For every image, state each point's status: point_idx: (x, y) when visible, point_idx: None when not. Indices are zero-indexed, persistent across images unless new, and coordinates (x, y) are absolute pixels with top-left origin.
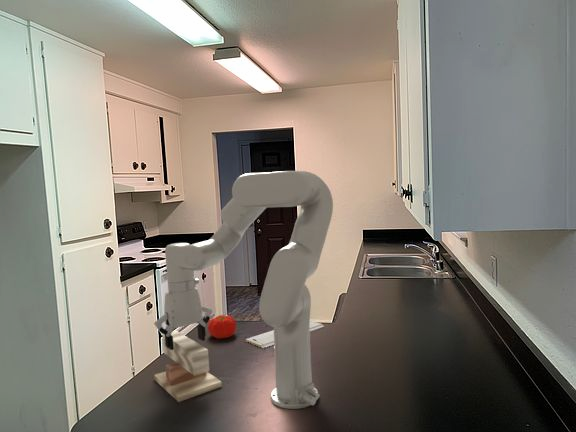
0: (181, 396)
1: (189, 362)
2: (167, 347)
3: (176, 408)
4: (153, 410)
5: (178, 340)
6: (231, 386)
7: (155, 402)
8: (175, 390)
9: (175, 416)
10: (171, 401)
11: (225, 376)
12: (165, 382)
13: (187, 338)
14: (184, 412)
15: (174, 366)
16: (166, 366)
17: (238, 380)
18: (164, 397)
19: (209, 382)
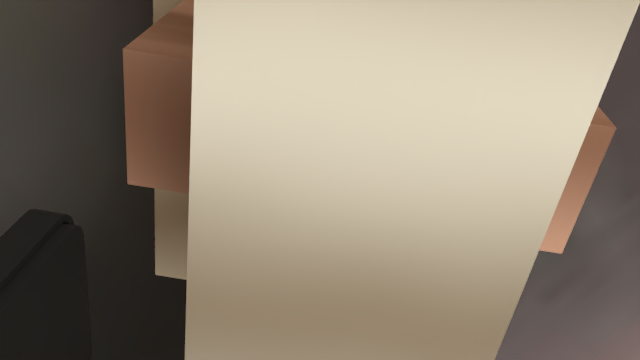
0: (181, 273)
1: None
2: (36, 213)
3: (128, 294)
4: (6, 217)
5: (288, 225)
6: (520, 340)
7: (43, 142)
8: (178, 194)
9: (93, 346)
10: (136, 211)
11: (631, 212)
12: (174, 1)
13: (488, 274)
14: (146, 351)
15: (189, 171)
16: (127, 80)
17: (618, 320)
18: (118, 130)
19: None
